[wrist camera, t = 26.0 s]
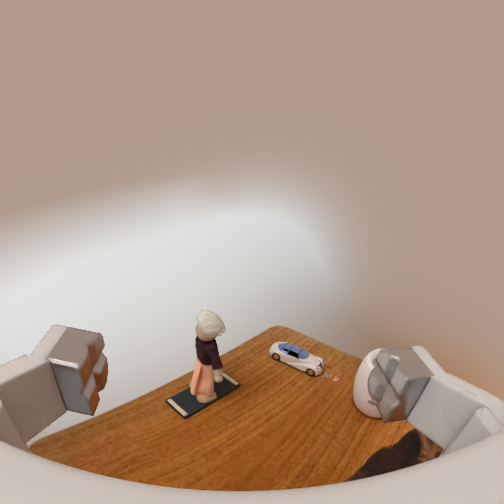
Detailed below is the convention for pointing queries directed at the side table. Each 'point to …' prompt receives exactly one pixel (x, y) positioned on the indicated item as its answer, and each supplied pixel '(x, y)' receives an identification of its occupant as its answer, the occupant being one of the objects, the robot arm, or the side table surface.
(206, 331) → the grandmother figurine
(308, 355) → the toy car
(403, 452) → the decorative rock
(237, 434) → the side table surface
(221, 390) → the black flat block
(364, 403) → the mug
